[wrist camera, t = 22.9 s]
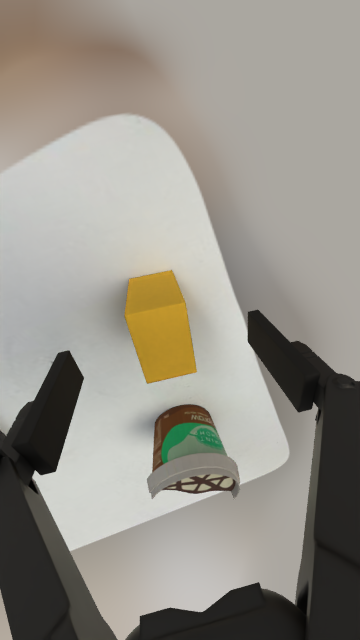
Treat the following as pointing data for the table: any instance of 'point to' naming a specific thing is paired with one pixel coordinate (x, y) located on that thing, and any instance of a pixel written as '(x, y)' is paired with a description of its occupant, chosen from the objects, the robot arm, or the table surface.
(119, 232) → the table surface
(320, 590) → the robot arm
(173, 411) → the food container
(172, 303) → the yellow block
